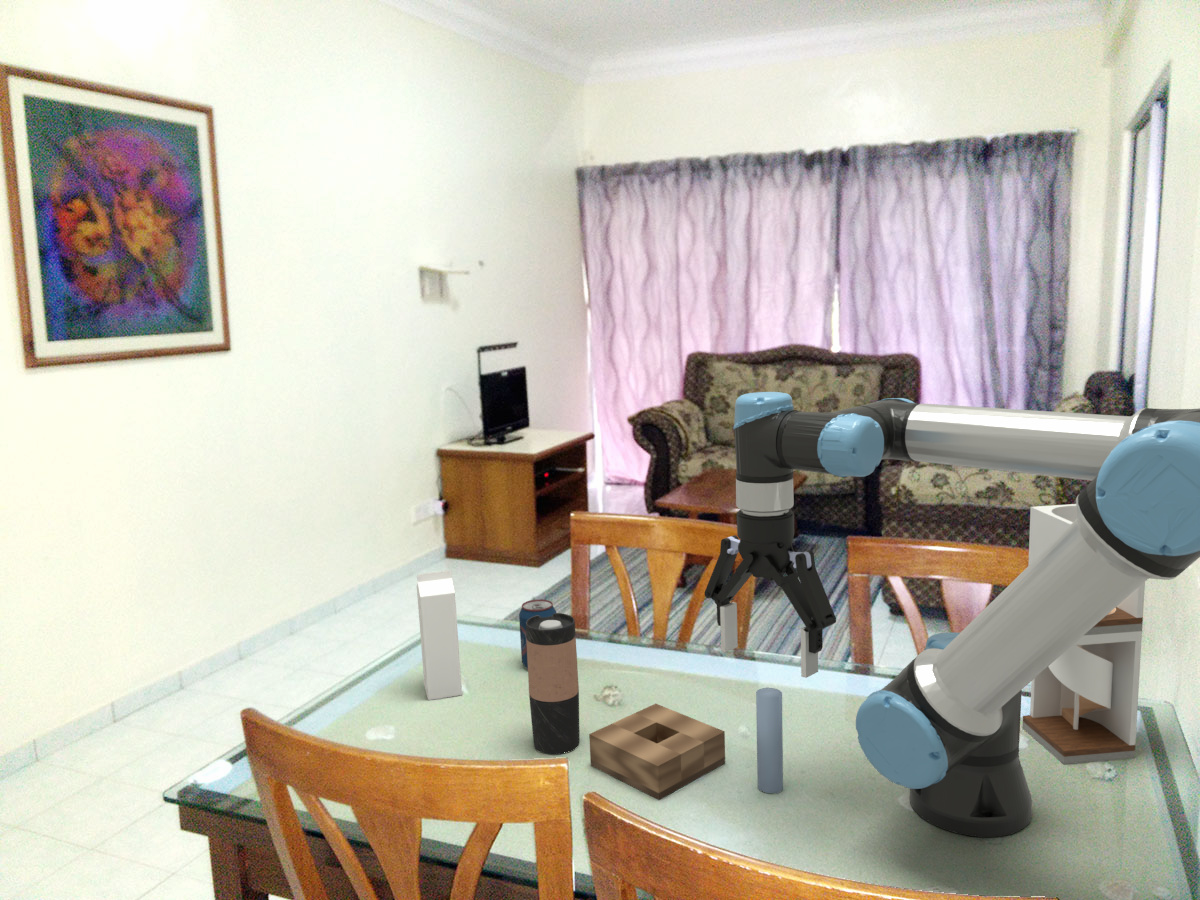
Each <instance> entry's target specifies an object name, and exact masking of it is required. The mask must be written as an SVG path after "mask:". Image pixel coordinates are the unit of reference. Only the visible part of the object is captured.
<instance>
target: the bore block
mask: <svg viewBox="0 0 1200 900" xmlns="http://www.w3.org/2000/svg"><path fill="white" fill-rule="evenodd" d="M725 735H726V734H725V731H724V730H722V729H719V728H717V727H715V726H712V725H711V724H710V725H709V724H707V723H705V722H704V721H703V722H702V721H700V720H697V719H696V718H692V717H690V716H687V715H685V714H683V713H680V712H678V711H675V710H673V709H670V708H668V707H666V706H663V705H660V704H658V703H654V704H652V705H650V706H647V707H645V708H643V709H641V710H639V711H636V712H634V713H631V714H629V715H627V716H625V717H623V718H621V719H619V720H617V721H615V722H612V723H610V724H608V725H606V726H603V727H602V728H599V729H597V730H595V731H593V732H590V733H589V735H588V736H589V737H588V738H589V755H590V756H589V757H590V766H591V767H593V768H594V769H597V770H599V771H601V772H603V773H605V774H607V775H609V776H610V777H612V778H615V779H617V780H619V781H621V782H623V783H625V784H626V785H628V786H630V787H632V788H635V789H636V790H639V791H640V792H643V793H645V794H646V795H649V796H651V797H652V798H655V799H656V800H658V801H659V800H662V799H664V798H665V797H666V796H668V795H670V794H672V793H674V792H676V791H678V790H680V789H681V788H683V787H685V786H687V785H688V783H689V784H690V783H692V782H694V781H696V780H697V779H699V778H701V777H703V776H704V775H707V774H709V773H710V772H712V771H713V770H715V769H718V768H719V767H720V766H723V765H724V764H726V738H725V737H726V736H725ZM693 780H694V781H693ZM684 785H685V786H684ZM679 788H680V789H679Z"/></svg>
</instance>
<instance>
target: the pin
mask: <svg viewBox="0 0 1200 900" xmlns="http://www.w3.org/2000/svg"><path fill="white" fill-rule="evenodd" d="M755 697H756V698H755V701H756V703H755V705H756V707H755V708H756V709H755V710H756V712H755V713H756V759H757V760H756V764H757V765H756V767H757V768H756V770H757V772H756V773H757V779H756V781H757V790H758V791H760V790H761V791H763V792H766V793H765V794H767V793H776V794H779V793H781V792H782V791H783V789H784V762H783V761H784V760H783V759H784V755H783V754H784V753H783V751H784V749H783V748H784V746H783V745H784V744H783V740H784V739H783V692H782V691H781V690H780V689H778V688H774V687H762V688H759V689H757V690H756V692H755ZM761 791H760V792H761ZM780 791H781V792H780ZM763 792H762V793H763Z"/></svg>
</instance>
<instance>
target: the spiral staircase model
mask: <svg viewBox="0 0 1200 900" xmlns="http://www.w3.org/2000/svg"><path fill="white" fill-rule="evenodd" d="M1029 510H1030V514H1029V516H1030V517H1029V518H1030V519H1029V536H1028V537H1029V538H1028V540H1029V542H1028V543H1029V544H1028V566H1029V565H1030V564H1031V563H1032V562H1033V561H1034V560H1035V559H1036V558H1037V557H1038V556H1039V555H1040V554H1041V553H1042V552H1043V551H1044V550H1045V549H1046V548H1047V547H1048V546H1049V545H1050V544H1051V543H1052V542H1053V541H1055V540H1056V539H1057V538H1058V537H1059V536H1060V535H1061V534H1062V533H1063V532H1064V531H1065V530H1066V529H1067V528H1068V527H1069V526H1070V525H1071V524H1072V523H1073V522H1074V521H1075V520H1076V519H1077V518H1078V515H1077V508H1076V503H1071V504H1056V505H1055V504H1054V505H1039V506H1037V505H1035V506H1030V509H1029ZM1028 566H1027V567H1028ZM1145 589H1146V581H1145V582H1144V583H1143V584H1142V585H1141V586H1139V587H1138V588H1137V589H1136V590H1135V591H1134V592H1133V593H1131V594H1130V595H1129V596H1128V597H1127V598H1126V599H1124V600H1123V601H1122V602H1121V603H1120V604H1119V605H1118V606H1116V607H1115V608H1114V609H1113V610H1112V611H1111V612H1110V613H1108V614H1107V615H1106V616H1105V617H1104V618H1103V619H1102V620H1100V621H1099V622H1098V623H1097V624H1096V625H1095V626H1094V627H1092V628H1091V629H1090V630H1089V631H1088V632H1087V633H1086V634H1084V635H1083V636H1082V637H1081V638H1080V639H1079V640H1078V641H1076V642H1075V643H1074V644H1073V645H1072V646H1071V647H1070V648H1068V649H1067V650H1066V651H1065V652H1064V653H1063V654H1062V655H1060V656H1059V657H1058V658H1057V659H1056V660H1055V661H1054V662H1052V663H1051V664H1050V665H1049V666H1048V667H1047V668H1046V669H1044V670H1043V671H1042V672H1041V673H1040V674H1039V675H1038V676H1036V677H1035V678H1034V679H1033V680H1032V681H1031V682H1030V684H1031V685H1030V705H1029V706H1030V709H1029V710H1030V713H1029V714H1030V715H1029V714H1028V715H1022V726H1021V727H1022V729H1023V730H1024V732H1026V733H1027V734H1028V735H1030V737H1032V738H1033V739H1034V740H1035V741H1037V743H1038V744H1040V745H1041V746H1042V747H1043V748H1044V749H1045V750H1046V751H1048V753H1051V754H1050V755H1052V756H1053V757H1054V758H1056V759H1057V760H1058V761H1059V762H1060V763H1062V764H1063V765H1070V764H1071V765H1073V764H1074V765H1075V764H1082V763H1083V764H1084V763H1097V762H1106V761H1117V760H1130V759H1135V756H1136V740H1137V739H1136V738H1137V725H1138V724H1137V722H1138V709H1139V708H1138V707H1139V706H1138V705H1139V690H1140V688H1139V687H1140V673H1141V657H1142V656H1141V655H1142V639H1143V638H1142V637H1143V636H1142V635H1143V625H1144V624H1143V623H1144V622H1143V621H1144V620H1143V619H1144V603H1145Z"/></svg>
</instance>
